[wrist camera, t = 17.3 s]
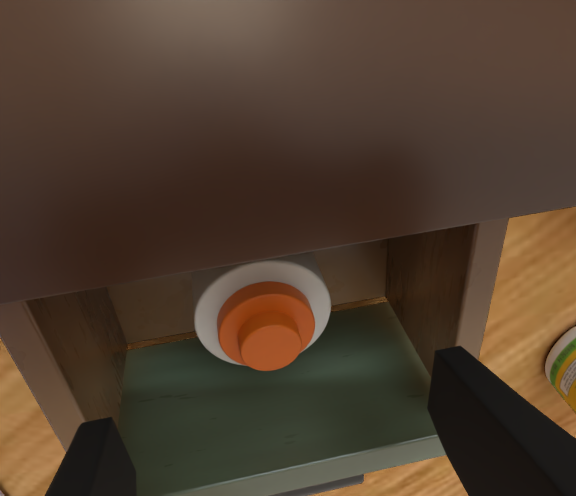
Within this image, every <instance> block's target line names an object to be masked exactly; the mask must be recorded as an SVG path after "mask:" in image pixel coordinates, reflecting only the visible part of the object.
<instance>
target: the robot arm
mask: <svg viewBox="0 0 576 496" xmlns="http://www.w3.org/2000/svg"><path fill="white" fill-rule="evenodd" d="M427 409H428V412H429V414H430V417H431V419H432V422H433V424H434V427H435V429H436V432H437V434H438V437H439V439H440V441H441V444H442V446H443V448H444V451H445V453H446V455H447V457H448V458H449V460H450V462H451V464H452V466H453V468H454V470H455V471H456V473H457V475H458V477H459V479H460V481H461V482H462V484H463V486H464V488H465V490H466V492H467V493H468V495H469V496H576V438H574V437H573V436H572V435H570V434H569V433H568V432H566V431H565V430H564V429H562V428H561V427H560V426H558V425H557V424H556V423H554V422H553V421H552V420H551V419H549V418H548V417H547V416H545V415H544V414H543V413H542V412H540V411H539V410H538V409H537V408H535V407H534V406H533V405H531V404H530V403H529V402H528V401H526V400H525V399H524V398H523V397H521V396H520V395H519V394H518V393H517V392H515V391H514V390H513V389H512V388H511V387H509V386H508V385H507V384H506V383H505V382H503V381H502V380H501V379H500V378H499V377H497V376H496V375H495V374H494V373H493V372H491V371H490V370H489V369H488V368H487V367H486V366H484V365H483V364H482V363H481V362H480V361H478V360H477V359H476V358H475V357H474V356H473V355H471V354H470V353H469V352H468V351H467V350H465V349H464V348H463V347H462V346H455V347H450V348H446V349H441V350H436V351H435V355H434V362H433V369H432V377H431V384H430V391H429V398H428V405H427ZM0 496H4V494H3V493H2V492H1V490H0ZM45 496H137V492H136V470H135V468H134V465H133V463H132V461H131V459H130V456H129V454H128V452H127V450H126V447H125V445H124V443H123V441H122V439H121V436H120V434H119V432H118V430H117V427H116V425H115V423H114V421H113V418H112V417H108V418H103V419H98V420H93V421H88V422H83V423H81V425H80V426H79V427H78V429H77V431H76V433H75V435H74V437H73V440H72V442H71V444H70V446H69V448H68V450H67V452H66V454H65V456H64V458H63V460H62V463H61V465H60V467H59V469H58V471H57V473H56V475H55V477H54V479H53V481H52V483H51V485H50V486H49V488H48V490H47V492H46V494H45Z"/></svg>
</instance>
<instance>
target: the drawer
mask: <svg viewBox="0 0 576 496" xmlns="http://www.w3.org/2000/svg"><path fill="white" fill-rule="evenodd" d="M508 220H509V218H506V219H500V220H494V221H488V222H482V223H477V224H471V225H465V226H459V227H453V228H447V229H441V230H436V231H430V232H424V233H418V234H412V235H406V236H401V237H395V238H389V239H383V240H377V241H371V242H365V243H360V244H354V245H348V246H342V247H336V248H330V249H325V250H319V251H313V255H314V257H315V260H316V262H317V264H318V267H319V269H320V272H321V274H322V277H323V279H324V281H325V284H326V286H327V289H328V291H329V295H330V300H331V306H334V305H340V304H345V303H350V302H356V301H361V300H367V299H372V298H377V297H383V296H386V298H387V300H388V302H383V303H378V304H373V305H367V306H362V307H357V308H351V309H346V310H341V311H335V312H330V316H329V320H328V322H327V325H326V327H325V329H324V330H323V332H322V333H321V335H320V336H319V337H318V339H317V340H316V341H315V342H314V343H313V344H312V345H310V346H309V347H308V348H307V349H305V350H304V351H303V352H301V353H300V354H299V355H298V356H297V358H296V359H295V360H294V361H293V362H291V363H290V364H289V365H287V366H285V367H283V368H280V369H277V370H272V371H260V370H256V369H253V368H251V367H249V366H244V365H237V364H233V363H230V362H227V361H224V360H222V359H220V358H218V357H216V356H215V355H213V354H212V353H211V352H210V351H208V350H207V349H206V348H205V346H204V345H203V344H202V343H201V341H200V340H199V338H198V337H196V338H190V339H185V340H180V341H174V342H169V343H164V344H158V345H153V346H147V347H142V348H137V349H131V350H127V344H129V343H134V342H140V341H145V340H150V339H156V338H161V337H167V336H172V335H177V334H183V333H188V332H194V331H195V327H194V315H193V291H192V272H190V273H184V274H178V275H172V276H167V277H161V278H155V279H149V280H143V281H137V282H132V283H126V284H120V285H114V286H108V287H102V288H96V289H91V290H85V291H79V292H73V293H67V294H61V295H56V296H50V297H44V298H38V299H32V300H26V301H20V302H15V303H9V304H3V305H0V338H1V339H2V341H3V343H4V345H5V346H6V348H7V350H8V352H9V353H10V355H11V357H12V359H13V360H14V362H15V364H16V365H17V367H18V369H19V371H20V372H21V374H22V376H23V378H24V379H25V381H26V383H27V385H28V386H29V388H30V390H31V392H32V393H33V395H34V397H35V399H36V400H37V402H38V404H39V406H40V407H41V409H42V411H43V413H44V414H45V416H46V418H47V420H48V421H49V423H50V425H51V427H52V428H53V430H54V432H55V434H56V435H57V437H58V439H59V441H60V442H61V444H62V446H63V448H64V449H65V451H66V452H67V450H68V448H69V446H70V444H71V442H72V440H73V437H74V435H75V433H76V431H77V429H78V427H79V426H80V425H81V423H83V422H88V421H93V420H98V419H103V418H108V417H112V418H113V421H114V423H115V425H116V427H117V430H118V432H119V434H120V436H121V439H122V441H123V443H124V445H125V447H126V450H127V452H128V454H129V456H130V459H131V461H132V463H133V465H134V468H135V470H136V492H137V496H308V495H313V494H317V493H321V492H326V491H330V490H334V489H339V488H343V487H348V486H352V485H356V484H361V483H363V481H364V474H365V473H369V472H374V471H378V470H383V469H387V468H391V467H396V466H400V465H405V464H409V463H413V462H418V461H422V460H427V459H431V458H435V457H440V456H444V455H446V453H445V451H444V448H443V446H442V444H441V441H440V439H439V437H438V434H437V432H436V429H435V427H434V424H433V422H432V419H431V417H430V414H429V412H428V409H427V405H428V398H429V391H430V384H431V377H432V369H433V362H434V355H435V351H436V350H441V349H446V348H450V347H455V346H462V347H463V348H464V349H465V350H467V351H468V352H469V353H470V354H471V355H473V356H474V357H475V358H476V359H477V360H478V359H479V355H480V350H481V345H482V341H483V336H484V331H485V327H486V322H487V318H488V313H489V308H490V304H491V299H492V294H493V290H494V285H495V281H496V276H497V271H498V267H499V262H500V257H501V253H502V248H503V244H504V239H505V234H506V230H507V225H508Z"/></svg>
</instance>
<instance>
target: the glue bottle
mask: <svg viewBox="0 0 576 496" xmlns="http://www.w3.org/2000/svg"><path fill="white" fill-rule="evenodd" d="M192 291H193V315H194V327H195V331H196V334H197V336H198V338H199V340H200V341H201V343H202V344H203V345H204V346H205V348H206V349H207V350H208V351H210V352H211V353H212V354H213V355H215V356H216V357H218V358H220V359H222V360H224V361H227V362H230V363H233V364H237V365H244V366H249V367H251V368H253V369H256V370H260V371H272V370H277V369H280V368H283V367H285V366H287V365H289V364H290V363H291V362H293V361H294V360H295V359H296V358H297V356H298V355H299V354H300V353H301V352H303V351H304V350H305V349H307V348H308V347H309V346H310V345H312V344H313V343H314V342H315V341H316V340H317V339H318V337H319V336H320V335H321V333H322V332H323V330H324V329H325V327H326V325H327V322H328V320H329V316H330V311H331V300H330V295H329V291H328V289H327V286H326V284H325V281H324V279H323V277H322V274H321V272H320V269H319V267H318V264H317V262H316V260H315V257H314V255H313V252H307V253H301V254H295V255H289V256H284V257H278V258H272V259H266V260H260V261H254V262H248V263H243V264H237V265H231V266H225V267H219V268H213V269H208V270H202V271H196V272H192Z"/></svg>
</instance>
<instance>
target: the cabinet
mask: <svg viewBox="0 0 576 496" xmlns="http://www.w3.org/2000/svg"><path fill="white" fill-rule="evenodd" d="M570 207H576V0H0V305H3V304H9V303H15V302H20V301H26V300H32V299H38V298H44V297H50V296H56V295H61V294H67V293H73V292H79V291H85V290H91V289H96V288H102V287H108V286H114V285H120V284H126V283H132V282H137V281H143V280H149V279H155V278H161V277H167V276H172V275H178V274H184V273H190V272H196V271H202V270H208V269H213V268H219V267H225V266H231V265H237V264H243V263H248V262H254V261H260V260H266V259H272V258H278V257H284V256H289V255H295V254H301V253H307V252H313V251H319V250H325V249H330V248H336V247H342V246H348V245H354V244H360V243H365V242H371V241H377V240H383V239H389V238H395V237H401V236H406V235H412V234H418V233H424V232H430V231H436V230H441V229H447V228H453V227H459V226H465V225H471V224H477V223H482V222H488V221H494V220H500V219H506V218H512V217H517V216H523V215H529V214H535V213H541V212H547V211H553V210H558V209H564V208H570Z"/></svg>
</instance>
